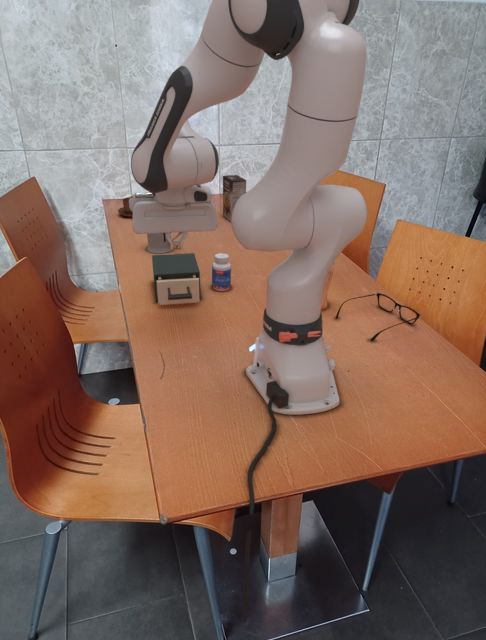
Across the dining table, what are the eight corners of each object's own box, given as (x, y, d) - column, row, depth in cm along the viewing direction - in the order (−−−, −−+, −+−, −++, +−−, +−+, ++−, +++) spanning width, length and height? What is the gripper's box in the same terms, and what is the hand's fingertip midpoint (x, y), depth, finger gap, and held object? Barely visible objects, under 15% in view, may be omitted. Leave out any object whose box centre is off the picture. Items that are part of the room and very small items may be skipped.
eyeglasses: (421, 328, 126) (424, 314, 124) (375, 344, 119) (378, 329, 117) (375, 303, 138) (377, 290, 136) (330, 316, 131) (332, 302, 129)
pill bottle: (214, 292, 142) (213, 259, 137) (210, 284, 146) (209, 253, 141) (232, 290, 143) (233, 258, 138) (228, 283, 148) (228, 251, 143)
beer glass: (328, 311, 133) (334, 258, 125) (302, 309, 134) (307, 256, 126) (330, 300, 139) (336, 249, 131) (305, 298, 140) (309, 246, 132)
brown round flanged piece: (117, 211, 207) (115, 196, 204) (146, 209, 211) (145, 194, 207) (119, 220, 198) (118, 204, 194) (150, 218, 201) (149, 202, 198)
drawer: (202, 312, 130) (201, 288, 126) (159, 315, 128) (157, 291, 124) (194, 282, 146) (193, 261, 142) (156, 284, 144) (154, 263, 140)
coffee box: (222, 216, 205) (222, 175, 196) (236, 214, 207) (237, 174, 199) (231, 222, 198) (231, 180, 190) (245, 220, 200) (246, 179, 192)
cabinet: (200, 299, 138) (199, 272, 134) (155, 302, 136) (153, 274, 131) (195, 279, 150) (194, 253, 145) (154, 281, 148) (151, 255, 143)
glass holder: (157, 242, 176) (154, 199, 168) (191, 250, 171) (189, 206, 163) (141, 250, 170) (137, 205, 162) (176, 258, 164) (173, 212, 156)
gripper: (127, 196, 111) (133, 255, 118) (218, 194, 115) (219, 251, 122) (127, 189, 116) (133, 246, 124) (214, 187, 120) (215, 242, 127)
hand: (176, 249), depth 123 cm, fingers closed
